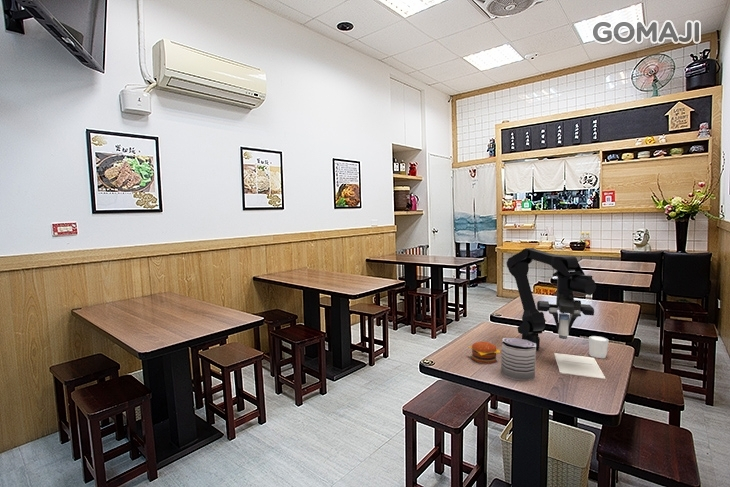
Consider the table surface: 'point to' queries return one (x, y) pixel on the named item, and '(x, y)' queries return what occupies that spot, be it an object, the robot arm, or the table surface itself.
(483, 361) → the hamburger
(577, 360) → the paper
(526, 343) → the can
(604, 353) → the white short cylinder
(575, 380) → the table surface
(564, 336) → the marker
